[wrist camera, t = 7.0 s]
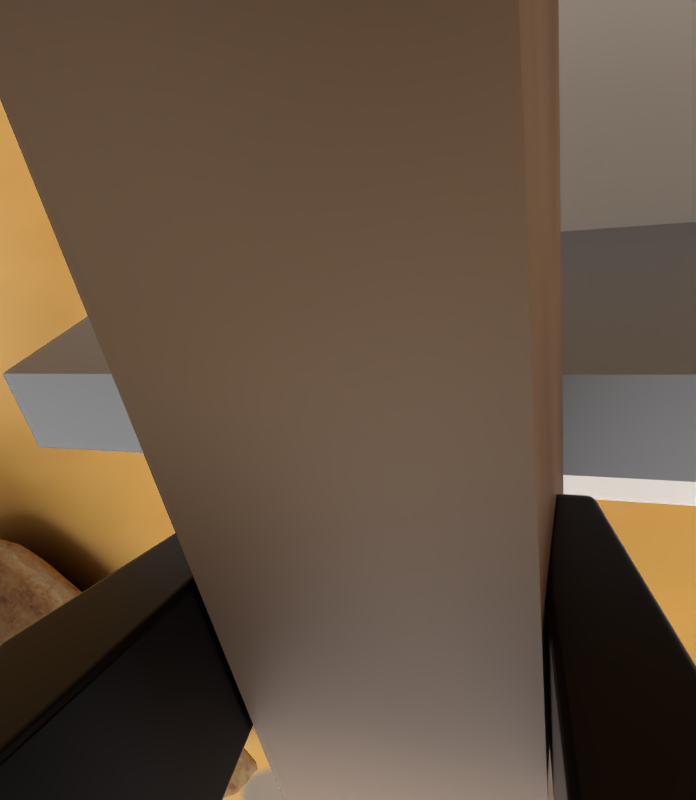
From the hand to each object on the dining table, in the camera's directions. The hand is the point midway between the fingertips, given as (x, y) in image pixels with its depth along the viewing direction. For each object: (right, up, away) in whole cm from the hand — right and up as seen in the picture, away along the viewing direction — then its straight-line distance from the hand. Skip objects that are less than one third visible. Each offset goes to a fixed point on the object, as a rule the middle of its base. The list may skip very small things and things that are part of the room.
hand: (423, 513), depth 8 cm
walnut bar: (0, +1, +1) cm, 1 cm away
